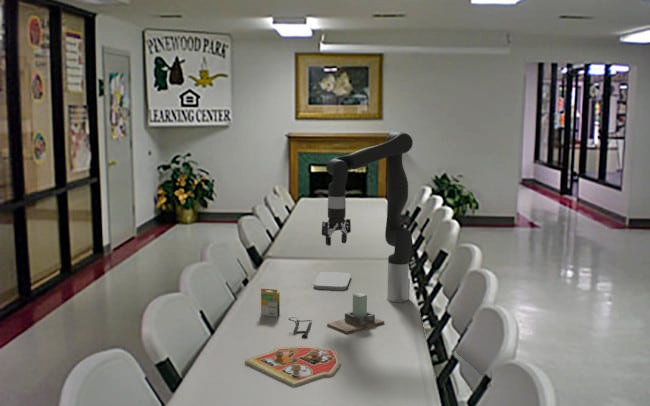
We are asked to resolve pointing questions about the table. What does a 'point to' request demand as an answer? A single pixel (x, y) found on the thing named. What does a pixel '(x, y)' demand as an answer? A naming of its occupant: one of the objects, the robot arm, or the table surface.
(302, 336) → the hacksaw
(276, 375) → the knob puzzle
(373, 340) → the table surface
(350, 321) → the tool stand
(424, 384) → the table surface
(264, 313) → the crayon box
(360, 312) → the peg block
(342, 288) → the tablet
